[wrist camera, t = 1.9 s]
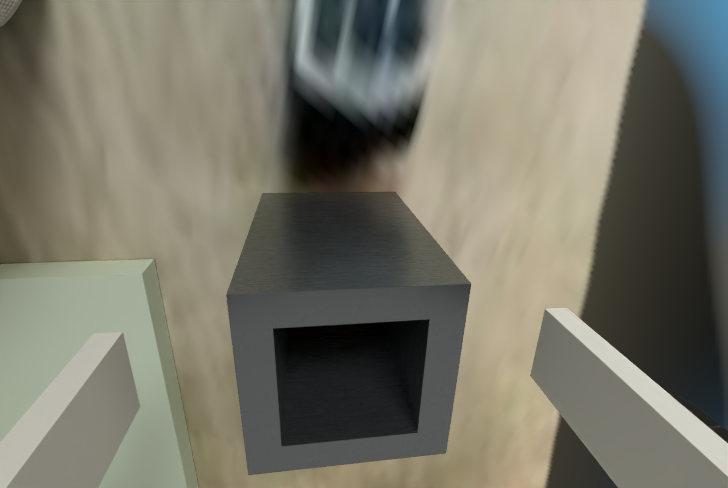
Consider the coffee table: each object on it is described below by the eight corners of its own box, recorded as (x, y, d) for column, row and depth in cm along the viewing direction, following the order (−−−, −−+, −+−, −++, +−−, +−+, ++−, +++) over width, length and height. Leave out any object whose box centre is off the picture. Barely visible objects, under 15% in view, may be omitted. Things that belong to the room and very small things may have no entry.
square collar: (262, 193, 17) (226, 294, 9) (395, 191, 18) (471, 283, 10) (278, 402, 22) (263, 594, 14) (383, 393, 23) (428, 569, 15)
